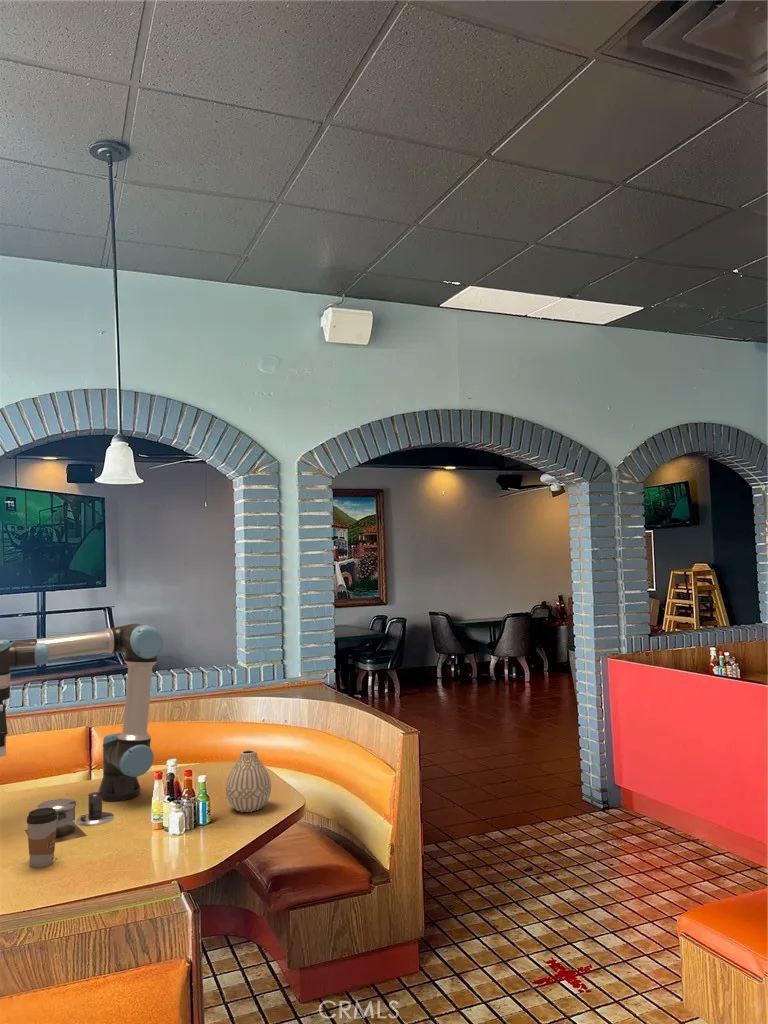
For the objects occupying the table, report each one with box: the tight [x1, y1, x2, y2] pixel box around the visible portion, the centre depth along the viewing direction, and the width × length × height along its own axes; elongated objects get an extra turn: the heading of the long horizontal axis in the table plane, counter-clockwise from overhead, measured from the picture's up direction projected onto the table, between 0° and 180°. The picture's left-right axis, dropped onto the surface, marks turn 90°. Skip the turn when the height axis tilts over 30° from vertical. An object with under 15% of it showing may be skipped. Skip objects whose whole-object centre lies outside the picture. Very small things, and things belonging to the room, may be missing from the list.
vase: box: [225, 749, 272, 813], centre depth 274 cm, size 16×16×20 cm
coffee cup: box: [26, 808, 57, 869], centre depth 228 cm, size 8×8×15 cm
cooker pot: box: [36, 798, 77, 838], centre depth 251 cm, size 16×12×9 cm
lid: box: [75, 791, 115, 827], centre depth 263 cm, size 12×12×10 cm
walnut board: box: [23, 823, 88, 844], centre depth 251 cm, size 15×19×1 cm
